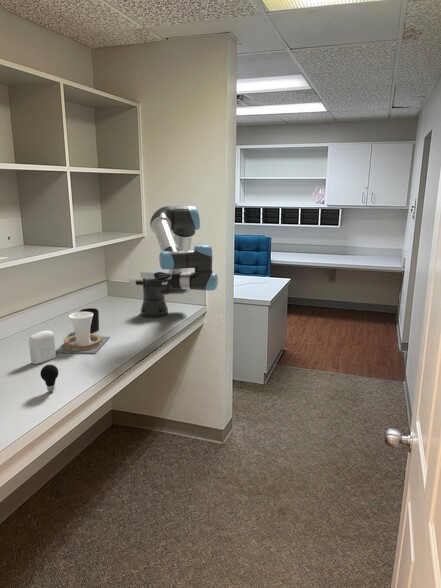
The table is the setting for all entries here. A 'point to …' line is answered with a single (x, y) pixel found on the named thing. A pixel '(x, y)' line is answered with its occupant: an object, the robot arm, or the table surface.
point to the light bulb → (49, 376)
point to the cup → (81, 326)
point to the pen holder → (93, 319)
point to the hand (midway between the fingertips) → (135, 278)
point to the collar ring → (85, 346)
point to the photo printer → (42, 347)
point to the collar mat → (89, 351)
